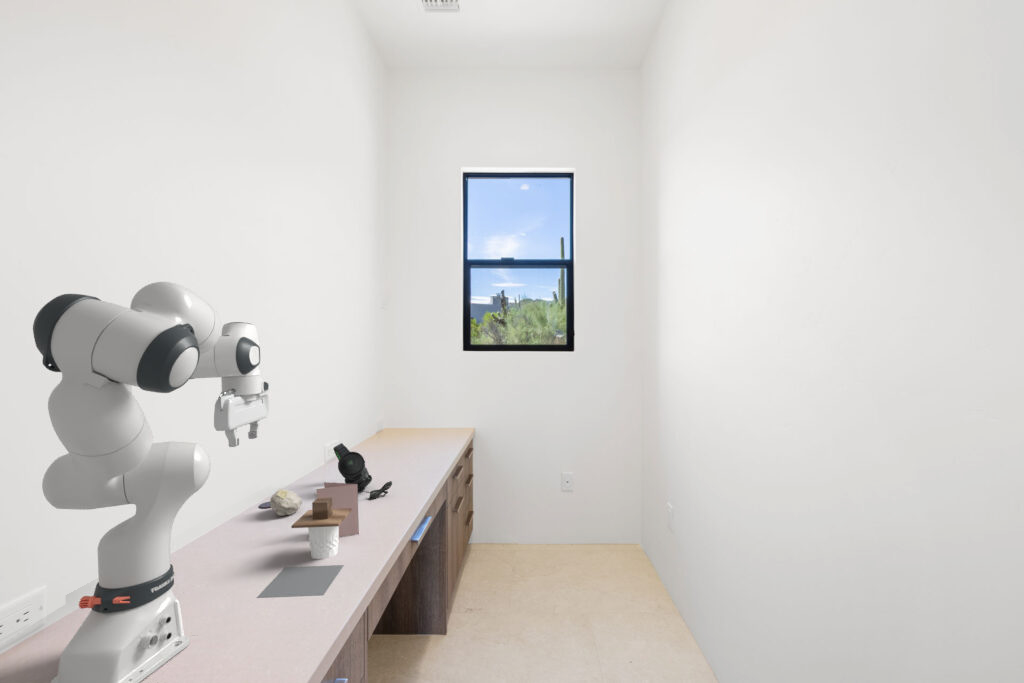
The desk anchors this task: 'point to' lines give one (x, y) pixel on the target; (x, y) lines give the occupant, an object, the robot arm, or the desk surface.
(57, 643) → the desk surface
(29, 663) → the desk surface
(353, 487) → the greeting card
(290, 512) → the fossil replica
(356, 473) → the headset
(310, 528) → the white cup
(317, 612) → the desk surface
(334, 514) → the walnut lid
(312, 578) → the rubber mat
